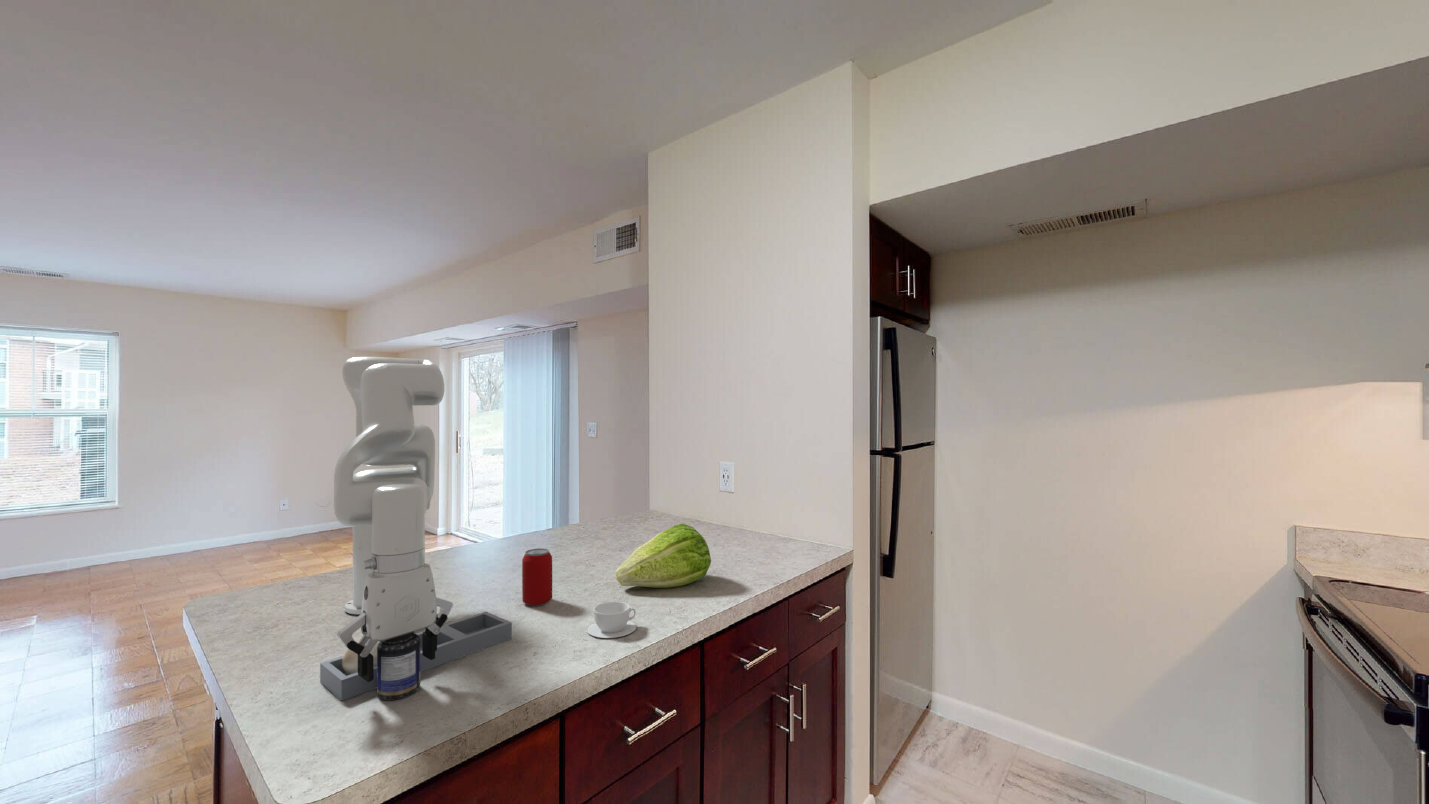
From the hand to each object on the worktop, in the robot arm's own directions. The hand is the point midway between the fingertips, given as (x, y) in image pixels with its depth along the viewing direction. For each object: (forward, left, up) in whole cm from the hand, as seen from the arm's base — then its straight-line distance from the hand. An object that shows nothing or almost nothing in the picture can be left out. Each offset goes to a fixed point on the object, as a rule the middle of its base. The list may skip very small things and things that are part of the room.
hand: (399, 667), depth 91 cm
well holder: (-9, +8, -4) cm, 13 cm away
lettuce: (-4, +66, -4) cm, 66 cm away
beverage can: (-18, +38, -4) cm, 42 cm away
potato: (-9, -2, 0) cm, 9 cm away
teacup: (+8, +38, -4) cm, 39 cm away
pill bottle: (0, 0, -4) cm, 4 cm away
